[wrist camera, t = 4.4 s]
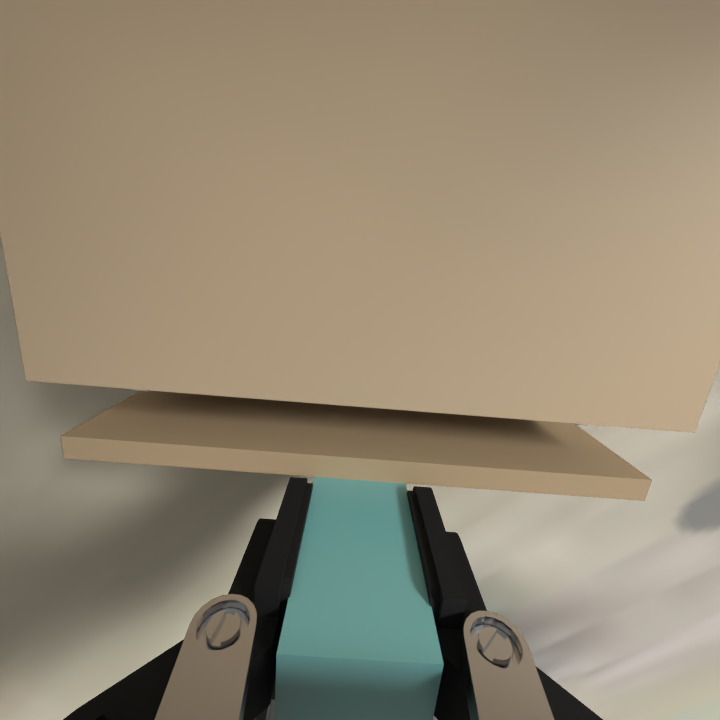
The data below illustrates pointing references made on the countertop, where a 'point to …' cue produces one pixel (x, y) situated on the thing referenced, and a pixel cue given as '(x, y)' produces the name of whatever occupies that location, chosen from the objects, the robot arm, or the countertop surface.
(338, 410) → the drawer with teal handle
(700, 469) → the countertop surface
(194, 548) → the countertop surface
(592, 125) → the sleeve
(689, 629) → the countertop surface
